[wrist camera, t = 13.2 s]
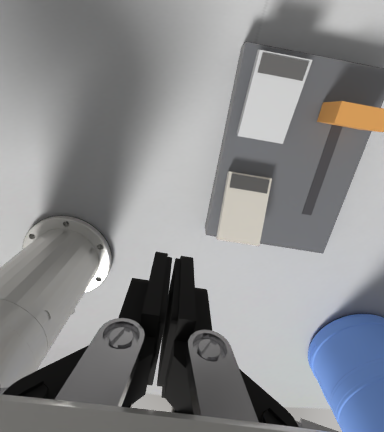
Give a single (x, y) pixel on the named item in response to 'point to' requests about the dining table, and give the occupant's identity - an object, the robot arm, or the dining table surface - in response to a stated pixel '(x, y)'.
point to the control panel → (299, 151)
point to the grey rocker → (272, 96)
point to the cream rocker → (243, 208)
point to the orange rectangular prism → (352, 116)
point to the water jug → (352, 370)
